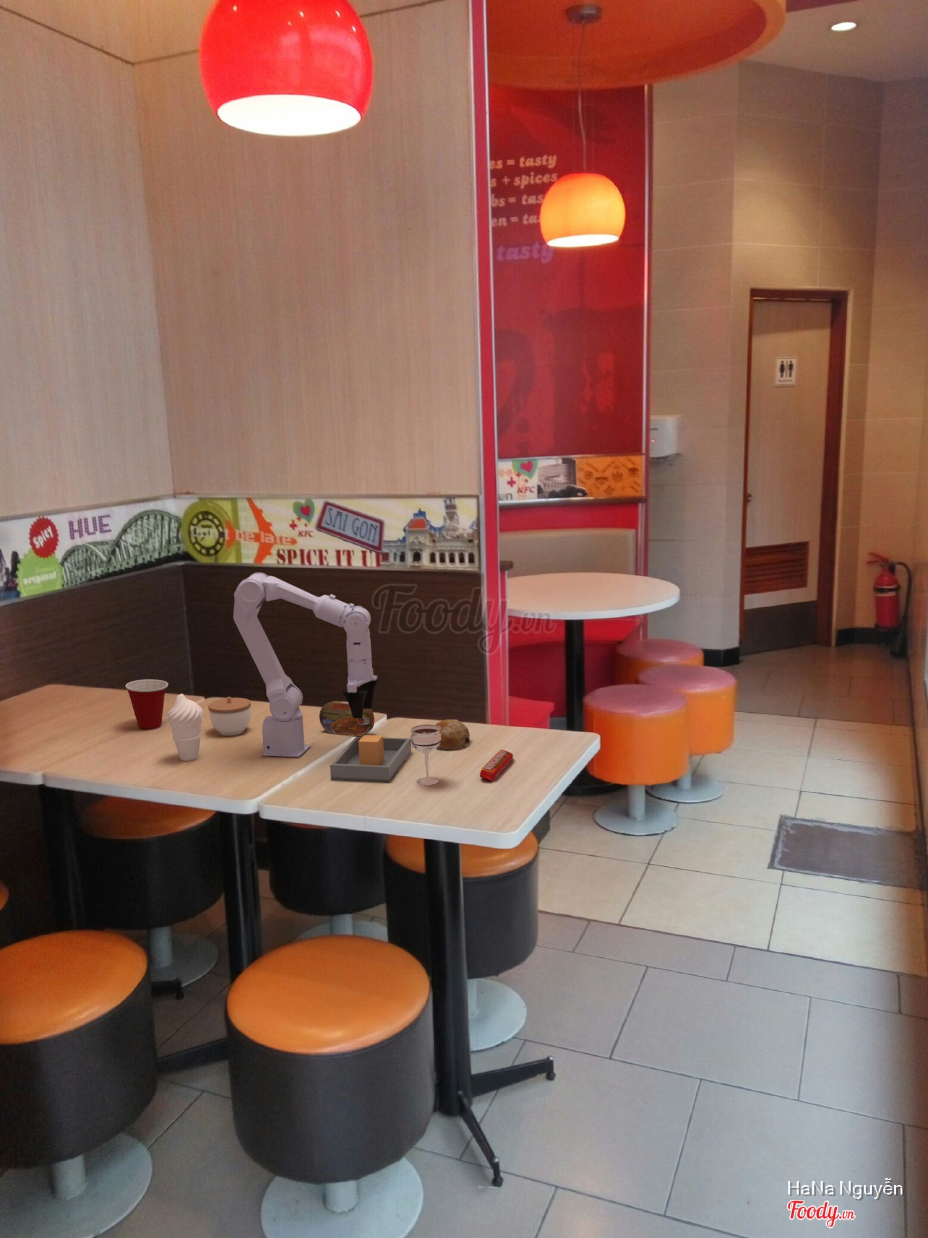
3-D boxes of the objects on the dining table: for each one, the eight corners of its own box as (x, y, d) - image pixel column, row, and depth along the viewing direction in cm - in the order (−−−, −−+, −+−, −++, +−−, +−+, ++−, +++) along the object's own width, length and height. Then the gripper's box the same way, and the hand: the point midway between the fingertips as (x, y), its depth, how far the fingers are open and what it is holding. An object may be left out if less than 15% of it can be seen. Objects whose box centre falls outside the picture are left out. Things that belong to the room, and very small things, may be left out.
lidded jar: (217, 741, 247) (214, 705, 245) (205, 730, 256) (202, 696, 254) (258, 733, 252) (255, 698, 250) (245, 723, 262) (243, 689, 260)
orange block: (359, 766, 225) (358, 741, 224) (365, 759, 229) (364, 735, 228) (378, 767, 224) (377, 742, 223) (384, 760, 228) (382, 735, 227)
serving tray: (330, 779, 218) (330, 765, 218) (357, 750, 237) (356, 736, 237) (389, 782, 216) (388, 767, 215) (411, 752, 235) (410, 738, 234)
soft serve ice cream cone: (214, 754, 238) (208, 691, 234) (191, 766, 230) (185, 700, 227) (187, 750, 241) (181, 688, 238) (163, 761, 234) (157, 697, 230)
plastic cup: (164, 732, 256) (160, 688, 253) (123, 733, 256) (119, 689, 253) (177, 719, 266) (173, 677, 264) (137, 720, 266) (133, 678, 264)
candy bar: (493, 784, 213) (492, 771, 213) (477, 783, 215) (476, 770, 214) (515, 760, 228) (515, 748, 227) (500, 758, 229) (500, 746, 229)
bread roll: (457, 765, 235) (470, 737, 233) (419, 747, 236) (432, 718, 234) (465, 752, 245) (478, 724, 242) (429, 733, 246) (441, 706, 243)
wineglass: (423, 773, 220) (420, 722, 218) (448, 778, 217) (446, 726, 215) (406, 783, 215) (403, 731, 212) (432, 788, 211) (430, 735, 209)
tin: (319, 732, 252) (317, 701, 250) (325, 729, 255) (323, 698, 253) (371, 738, 246) (369, 706, 244) (377, 734, 249) (375, 702, 247)
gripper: (366, 666, 225) (369, 723, 227) (383, 651, 239) (386, 704, 241) (337, 665, 226) (340, 722, 229) (356, 650, 240) (359, 704, 243)
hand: (362, 713), depth 235 cm, fingers open, 7 cm apart
